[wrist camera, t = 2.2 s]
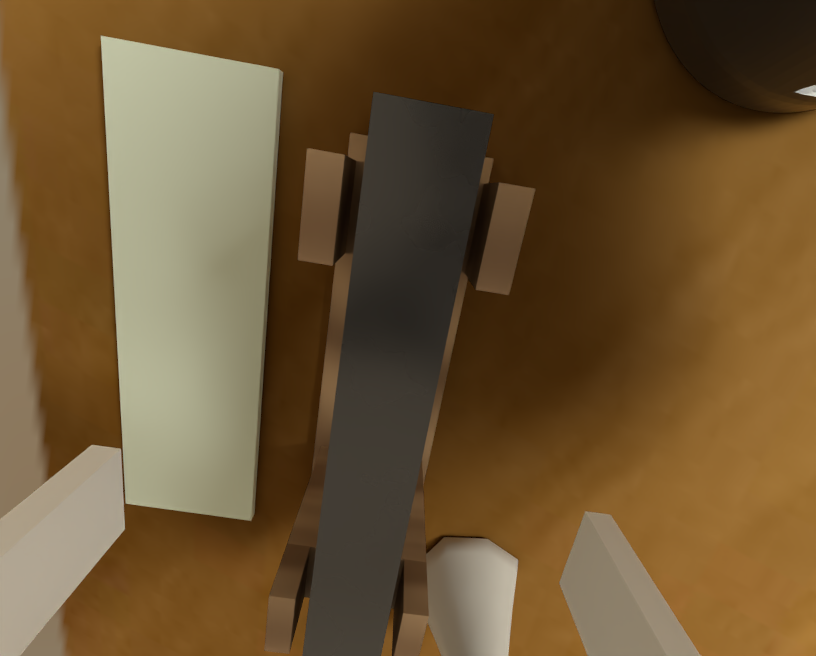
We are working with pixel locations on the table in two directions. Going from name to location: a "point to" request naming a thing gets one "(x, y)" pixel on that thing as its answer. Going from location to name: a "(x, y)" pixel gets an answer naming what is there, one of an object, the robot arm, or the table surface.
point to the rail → (390, 358)
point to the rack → (334, 244)
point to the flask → (470, 596)
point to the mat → (190, 269)
